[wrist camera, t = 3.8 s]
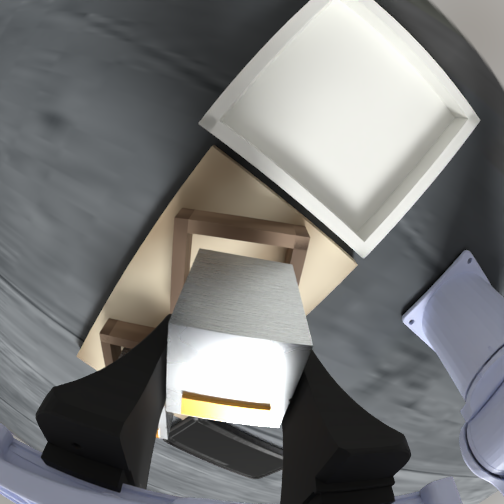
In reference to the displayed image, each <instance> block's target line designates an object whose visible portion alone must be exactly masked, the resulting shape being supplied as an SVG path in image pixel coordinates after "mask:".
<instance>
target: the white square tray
mask: <svg viewBox="0 0 504 504" xmlns="http://www.w3.org/2000/svg"><path fill="white" fill-rule="evenodd" d="M479 122H480V119H479V118H478V116H477V115H476V113H475V112H474V110H473V109H472V107H471V106H470V105H469V103H468V102H467V100H466V99H465V98H464V96H463V95H462V94H461V92H460V91H459V90H458V88H457V87H456V86H455V85H454V83H453V82H452V81H451V79H450V78H449V77H448V76H447V75H446V73H445V72H444V71H443V70H442V68H441V67H440V66H439V65H438V64H437V63H436V61H435V60H434V59H433V58H432V57H431V56H430V55H429V54H428V52H427V51H426V50H425V49H424V48H423V47H422V46H421V45H420V44H419V43H418V42H417V41H416V40H415V39H414V38H413V37H412V36H411V35H410V34H409V33H408V32H407V31H406V30H405V29H404V28H403V27H402V26H401V25H400V24H399V23H398V22H397V21H396V20H395V19H394V18H393V17H392V16H391V15H390V14H388V13H387V12H386V11H385V10H384V9H383V8H382V7H381V6H379V5H378V4H377V3H376V2H375V1H374V0H310V1H309V2H308V3H307V4H306V5H305V6H304V7H302V8H301V9H300V10H299V11H298V12H297V13H296V14H295V15H294V16H293V17H292V18H291V19H290V20H289V21H288V22H287V23H286V24H285V25H284V26H283V27H282V28H281V29H280V30H279V31H278V32H277V33H276V34H275V35H274V36H273V37H272V38H271V39H270V40H269V41H268V42H267V43H266V44H265V46H264V47H263V48H262V49H261V50H260V51H259V52H258V53H257V54H256V55H255V56H254V57H253V58H252V60H251V61H250V62H249V63H248V64H247V65H246V66H245V67H244V68H243V70H242V71H241V72H240V73H239V74H238V75H237V76H236V78H235V79H234V80H233V81H232V82H231V83H230V85H229V86H228V87H227V88H226V89H225V91H224V92H223V93H222V94H221V95H220V97H219V98H218V99H217V100H216V101H215V103H214V104H213V105H212V106H211V108H210V109H209V110H208V111H207V113H206V114H205V115H204V117H203V118H202V119H201V120H200V122H199V123H198V124H199V125H201V126H202V127H203V128H205V129H206V130H207V131H209V132H210V133H212V134H213V135H214V136H216V137H217V138H218V139H220V140H221V141H222V142H224V143H225V144H226V145H228V146H229V147H230V148H231V149H233V150H234V151H235V152H237V153H238V154H239V155H241V156H242V157H243V158H244V159H246V160H247V161H248V162H250V163H251V164H252V165H253V166H255V167H256V168H257V169H258V170H260V171H261V172H262V173H264V174H265V175H266V176H267V177H269V178H270V179H271V180H272V181H273V182H275V183H276V184H277V185H278V186H280V187H281V188H282V189H283V190H285V191H286V192H287V193H288V194H289V195H291V196H292V197H293V198H294V199H295V200H297V201H298V202H299V203H300V204H301V205H303V206H304V207H305V208H306V209H307V210H309V211H310V212H311V213H312V214H313V215H314V216H316V217H317V218H318V219H319V220H320V221H321V222H323V223H324V224H325V225H326V226H327V227H328V228H329V229H331V230H332V231H333V232H334V233H335V234H336V235H337V236H339V237H340V238H341V239H342V240H343V241H344V242H345V243H346V244H348V245H349V246H350V247H351V248H352V249H353V250H354V251H355V252H356V253H358V254H359V255H360V256H361V257H362V258H363V259H364V258H365V257H366V256H367V255H368V254H369V253H370V252H371V251H372V250H373V249H374V248H375V247H376V245H377V244H378V243H379V242H380V241H381V240H382V239H383V238H384V237H385V236H386V235H387V234H388V233H389V231H390V230H391V229H392V228H393V227H394V226H395V225H396V224H397V223H398V221H399V220H400V219H401V218H402V217H403V216H404V215H405V214H406V212H407V211H408V210H409V209H410V208H411V207H412V206H413V204H414V203H415V202H416V201H417V200H418V199H419V197H420V196H421V195H422V194H423V193H424V192H425V190H426V189H427V188H428V187H429V186H430V184H431V183H432V182H433V181H434V180H435V178H436V177H437V176H438V175H439V174H440V172H441V171H442V170H443V169H444V167H445V166H446V165H447V164H448V162H449V161H450V160H451V159H452V157H453V156H454V155H455V154H456V152H457V151H458V150H459V148H460V147H461V146H462V145H463V143H464V142H465V141H466V139H467V138H468V137H469V135H470V134H471V133H472V131H473V130H474V129H475V127H476V126H477V125H478V123H479Z"/></svg>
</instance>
